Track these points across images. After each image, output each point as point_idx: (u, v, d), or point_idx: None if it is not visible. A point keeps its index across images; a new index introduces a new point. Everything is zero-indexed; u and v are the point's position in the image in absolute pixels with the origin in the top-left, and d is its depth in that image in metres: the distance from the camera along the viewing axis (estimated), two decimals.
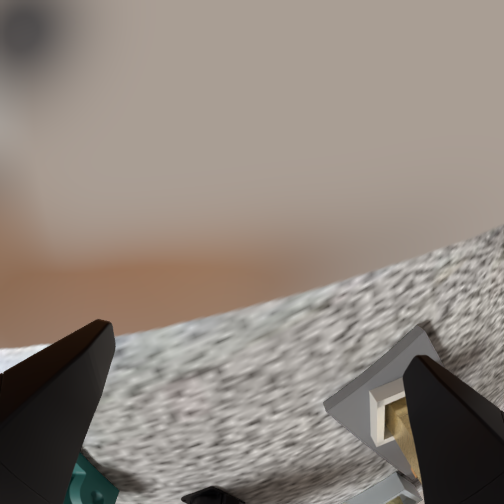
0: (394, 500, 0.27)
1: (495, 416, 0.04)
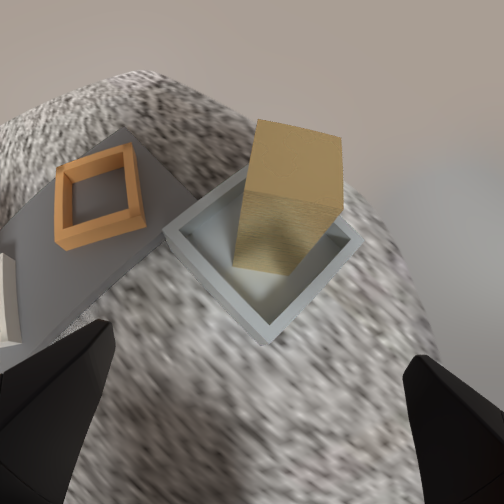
0: None
1: (495, 416, 0.04)
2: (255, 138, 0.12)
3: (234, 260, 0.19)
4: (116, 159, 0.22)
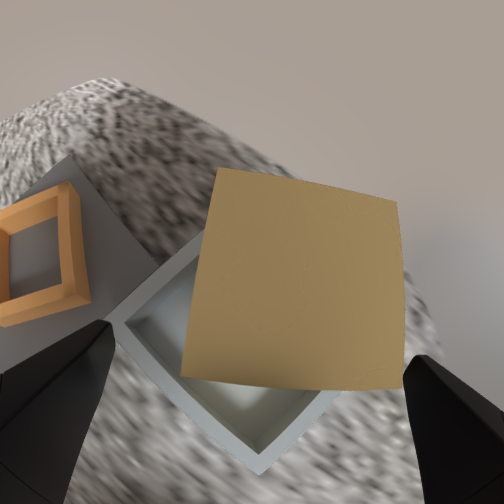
0: None
1: (495, 416, 0.04)
2: (209, 222, 0.05)
3: None
4: (52, 205, 0.15)
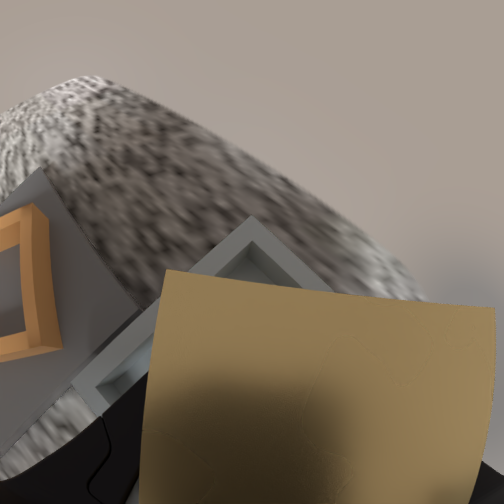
0: None
1: None
2: (150, 415, 0.02)
3: None
4: (17, 231, 0.12)
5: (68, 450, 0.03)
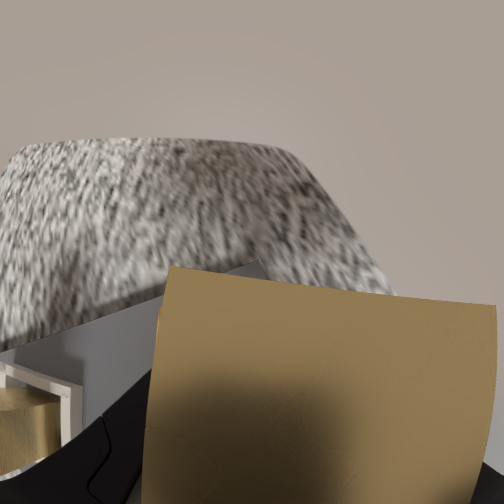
0: None
1: None
2: (153, 412, 0.02)
3: None
4: None
5: (68, 450, 0.03)
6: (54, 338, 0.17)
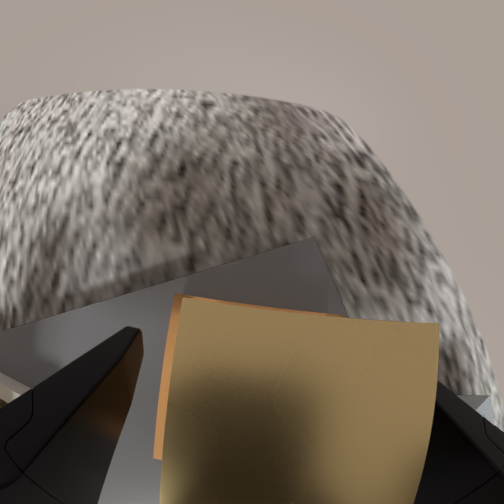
0: None
1: (476, 423, 0.04)
2: (172, 396, 0.03)
3: None
4: None
5: None
6: (24, 330, 0.12)
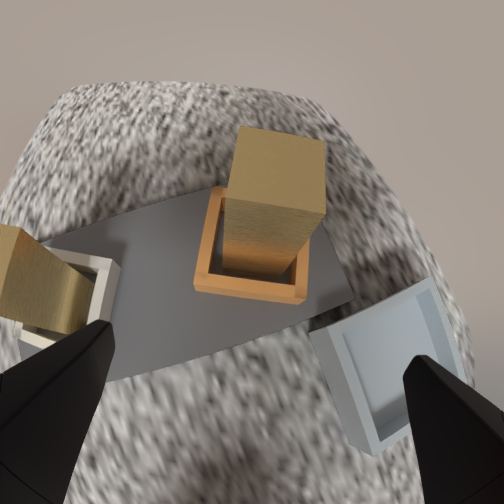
0: None
1: (495, 416, 0.04)
2: (237, 145, 0.12)
3: (223, 266, 0.19)
4: None
5: None
6: (98, 225, 0.21)
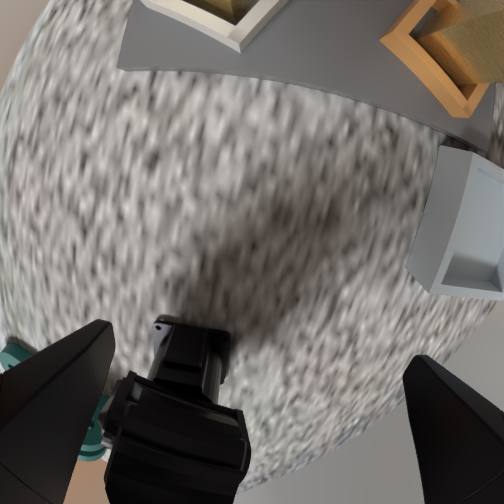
0: (431, 20, 0.11)
1: (495, 416, 0.04)
2: None
3: (419, 39, 0.11)
4: None
5: None
6: None
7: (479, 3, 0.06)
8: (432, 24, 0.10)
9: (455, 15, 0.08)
